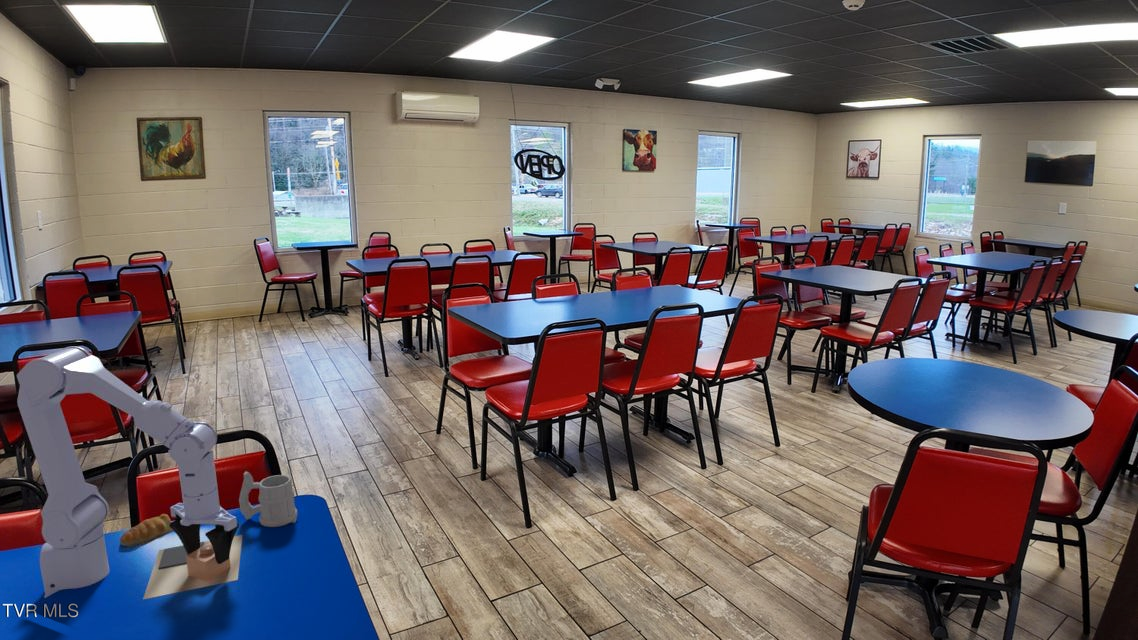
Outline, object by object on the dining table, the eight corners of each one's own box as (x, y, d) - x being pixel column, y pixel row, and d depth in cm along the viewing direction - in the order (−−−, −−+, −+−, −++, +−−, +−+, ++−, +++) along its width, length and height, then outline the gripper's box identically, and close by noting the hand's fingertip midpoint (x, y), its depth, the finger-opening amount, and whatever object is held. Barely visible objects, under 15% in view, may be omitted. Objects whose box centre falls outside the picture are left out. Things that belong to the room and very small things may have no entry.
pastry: (127, 553, 133) (124, 536, 132) (115, 542, 137) (113, 525, 136) (177, 534, 140) (175, 518, 139) (165, 524, 144) (163, 508, 143)
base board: (143, 604, 117) (142, 599, 116) (159, 554, 132) (159, 550, 132) (238, 584, 122) (237, 579, 122) (242, 539, 138) (242, 534, 137)
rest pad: (158, 569, 125) (158, 567, 125) (164, 550, 132) (164, 549, 131) (200, 561, 128) (200, 559, 128) (204, 543, 134) (204, 541, 134)
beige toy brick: (188, 575, 123) (185, 552, 122) (211, 561, 128) (208, 538, 127) (207, 581, 121) (205, 558, 120) (230, 567, 126) (228, 544, 125)
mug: (291, 531, 141) (286, 479, 138) (234, 533, 140) (228, 480, 137) (303, 513, 148) (298, 463, 146) (248, 515, 147) (243, 465, 145)
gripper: (151, 492, 120) (161, 559, 123) (209, 507, 115) (218, 576, 118) (186, 476, 127) (195, 540, 129) (242, 489, 121) (250, 556, 124)
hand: (208, 556), depth 124 cm, fingers open, 7 cm apart
